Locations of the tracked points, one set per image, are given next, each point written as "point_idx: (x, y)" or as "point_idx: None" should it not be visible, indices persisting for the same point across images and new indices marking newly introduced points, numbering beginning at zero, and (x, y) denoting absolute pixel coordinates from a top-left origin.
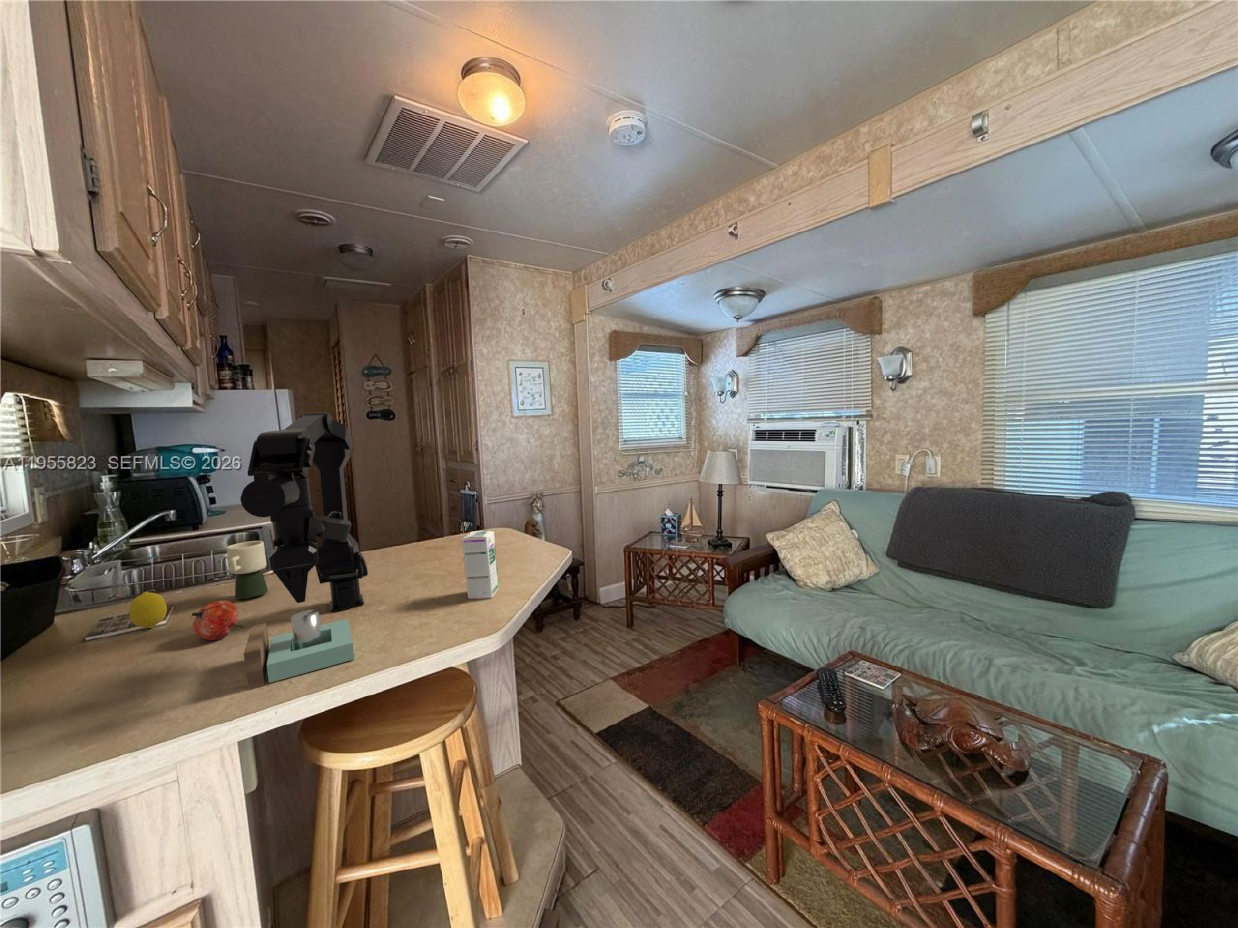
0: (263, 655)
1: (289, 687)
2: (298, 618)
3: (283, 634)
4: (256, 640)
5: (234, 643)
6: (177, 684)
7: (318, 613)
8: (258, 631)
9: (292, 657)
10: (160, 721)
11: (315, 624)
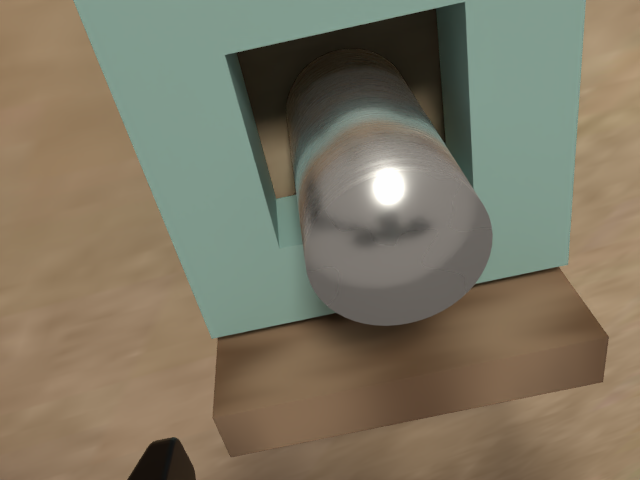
0: (471, 306)
1: (621, 126)
2: (463, 275)
3: (203, 299)
4: (462, 383)
5: (43, 439)
6: (339, 461)
7: (402, 164)
8: (331, 411)
9: (560, 177)
10: (569, 411)
11: (441, 147)
